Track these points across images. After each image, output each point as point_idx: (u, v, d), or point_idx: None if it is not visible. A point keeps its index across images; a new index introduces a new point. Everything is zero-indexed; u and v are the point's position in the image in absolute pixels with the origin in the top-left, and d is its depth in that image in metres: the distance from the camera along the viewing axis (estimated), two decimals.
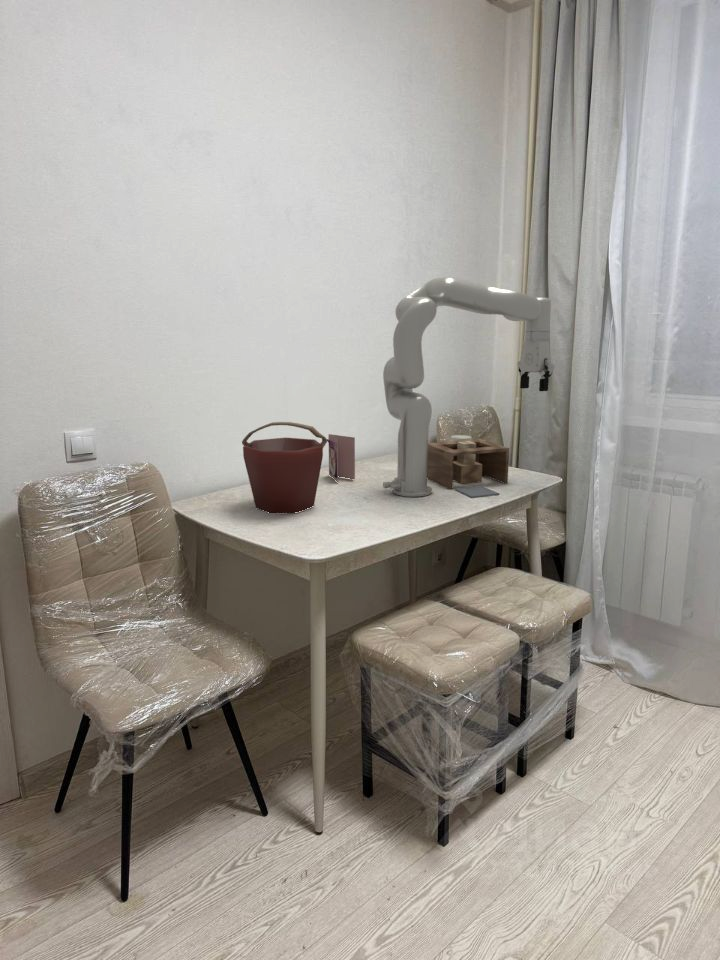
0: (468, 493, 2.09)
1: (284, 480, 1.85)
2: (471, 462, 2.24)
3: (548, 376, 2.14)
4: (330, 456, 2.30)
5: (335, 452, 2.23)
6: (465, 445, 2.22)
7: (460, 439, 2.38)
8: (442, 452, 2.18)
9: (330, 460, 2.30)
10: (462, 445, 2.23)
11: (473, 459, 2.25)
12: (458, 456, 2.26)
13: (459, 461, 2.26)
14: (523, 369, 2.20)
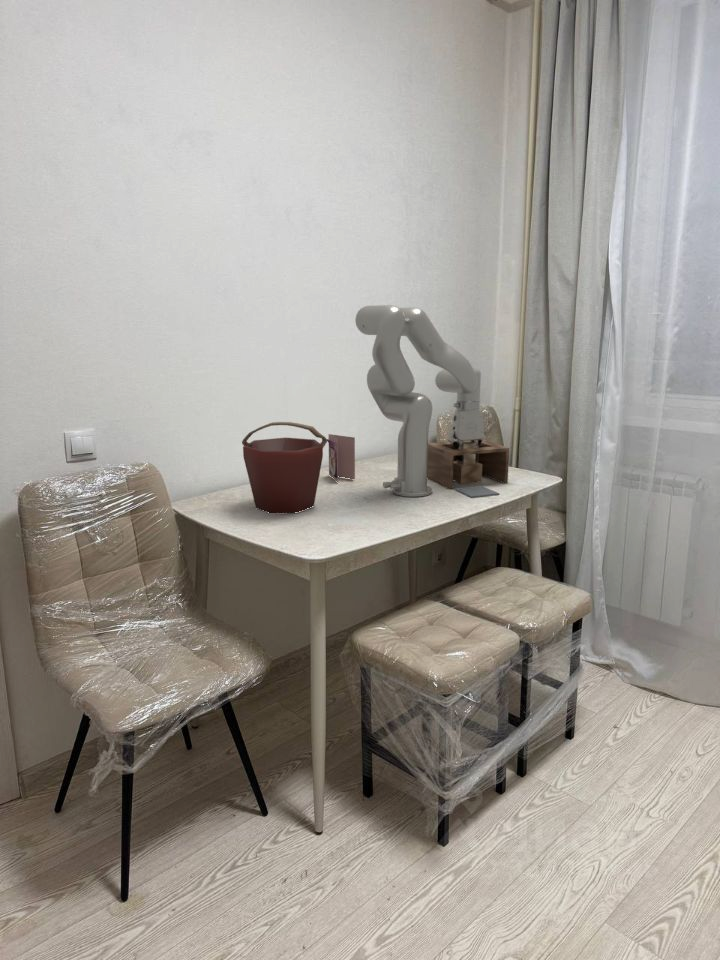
0: (468, 493, 2.09)
1: (284, 480, 1.85)
2: (471, 462, 2.24)
3: None
4: (330, 456, 2.30)
5: (335, 452, 2.23)
6: (465, 445, 2.22)
7: None
8: (442, 452, 2.18)
9: (330, 460, 2.30)
10: (462, 445, 2.23)
11: (473, 459, 2.25)
12: None
13: (459, 461, 2.26)
14: (464, 439, 2.21)
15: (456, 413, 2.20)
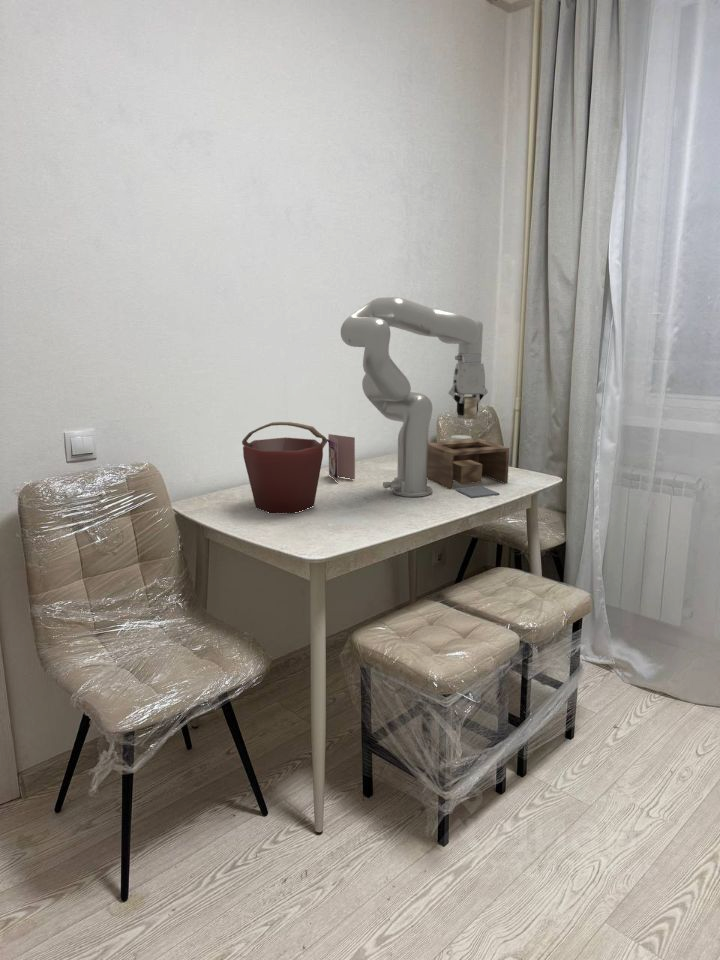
0: (468, 493, 2.09)
1: (284, 480, 1.85)
2: (472, 416, 2.21)
3: None
4: (330, 456, 2.30)
5: (335, 452, 2.23)
6: (466, 399, 2.18)
7: (460, 439, 2.38)
8: (442, 452, 2.18)
9: (330, 460, 2.30)
10: (463, 399, 2.19)
11: (474, 414, 2.21)
12: None
13: (460, 416, 2.22)
14: (466, 392, 2.17)
15: (457, 366, 2.17)
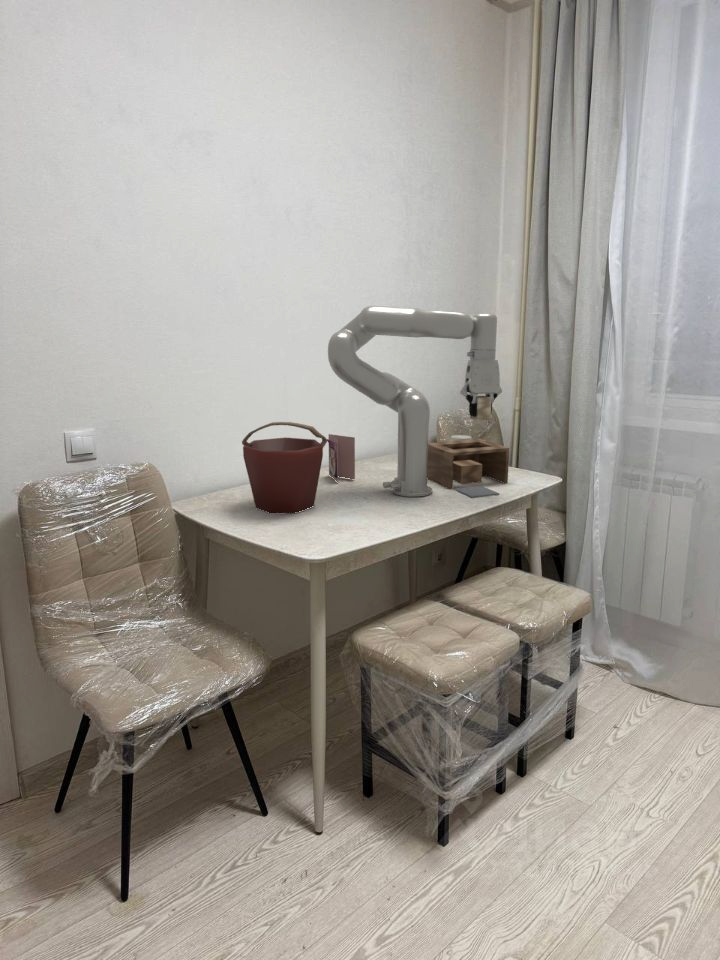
0: (468, 493, 2.09)
1: (284, 480, 1.85)
2: (486, 417, 2.04)
3: None
4: (330, 456, 2.30)
5: (335, 452, 2.23)
6: (479, 399, 2.02)
7: (460, 439, 2.38)
8: (442, 452, 2.18)
9: (330, 460, 2.30)
10: (476, 399, 2.03)
11: (488, 415, 2.04)
12: None
13: (473, 417, 2.05)
14: (479, 391, 2.01)
15: (470, 363, 2.00)
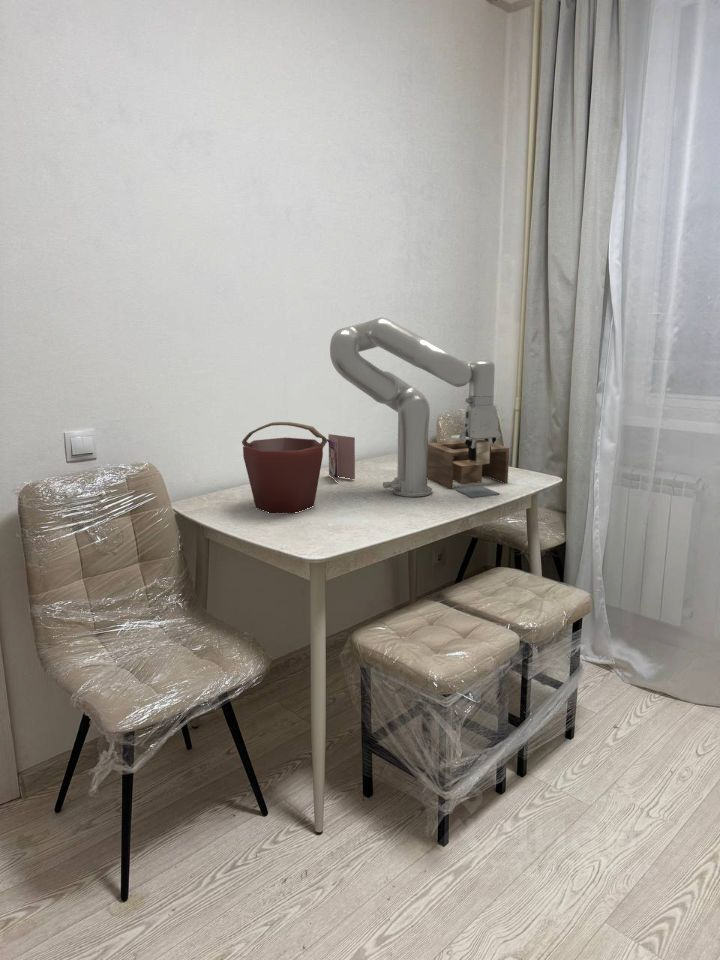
0: (468, 493, 2.09)
1: (284, 480, 1.85)
2: (485, 461, 2.07)
3: None
4: (330, 456, 2.30)
5: (335, 452, 2.23)
6: (478, 444, 2.05)
7: None
8: (442, 452, 2.18)
9: (330, 460, 2.30)
10: (475, 444, 2.06)
11: (487, 459, 2.07)
12: None
13: (472, 461, 2.09)
14: (478, 437, 2.04)
15: (468, 409, 2.03)
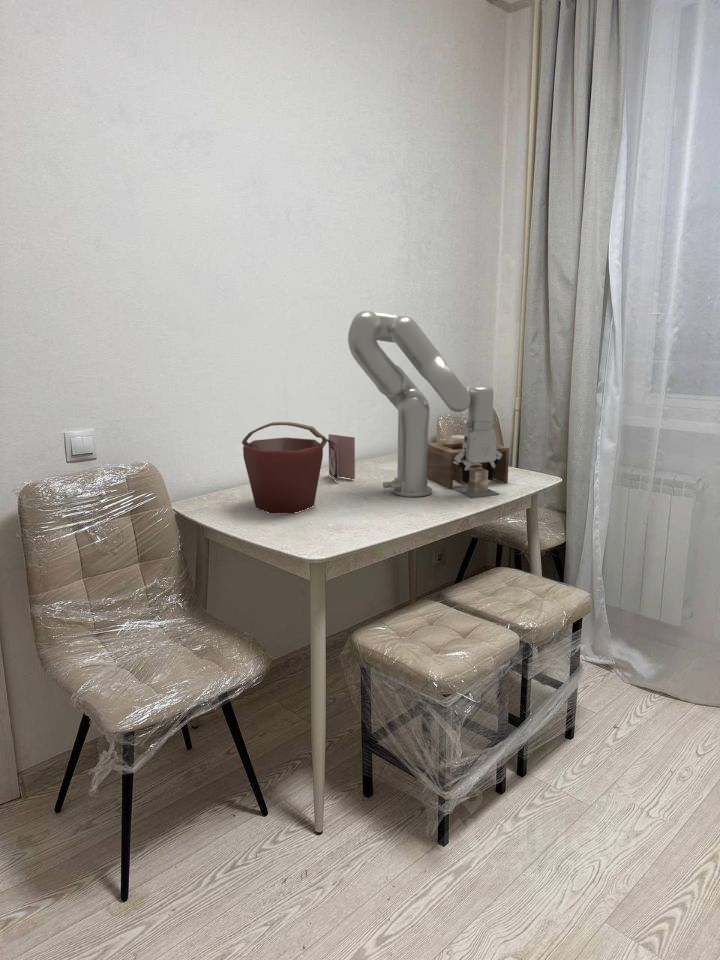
0: (468, 493, 2.09)
1: (284, 480, 1.85)
2: (483, 490, 2.10)
3: None
4: (330, 456, 2.30)
5: (335, 452, 2.23)
6: (477, 472, 2.07)
7: (460, 439, 2.38)
8: (442, 452, 2.18)
9: (330, 460, 2.30)
10: (473, 472, 2.08)
11: (485, 487, 2.10)
12: (469, 484, 2.11)
13: (470, 489, 2.11)
14: (476, 461, 2.06)
15: (467, 434, 2.05)
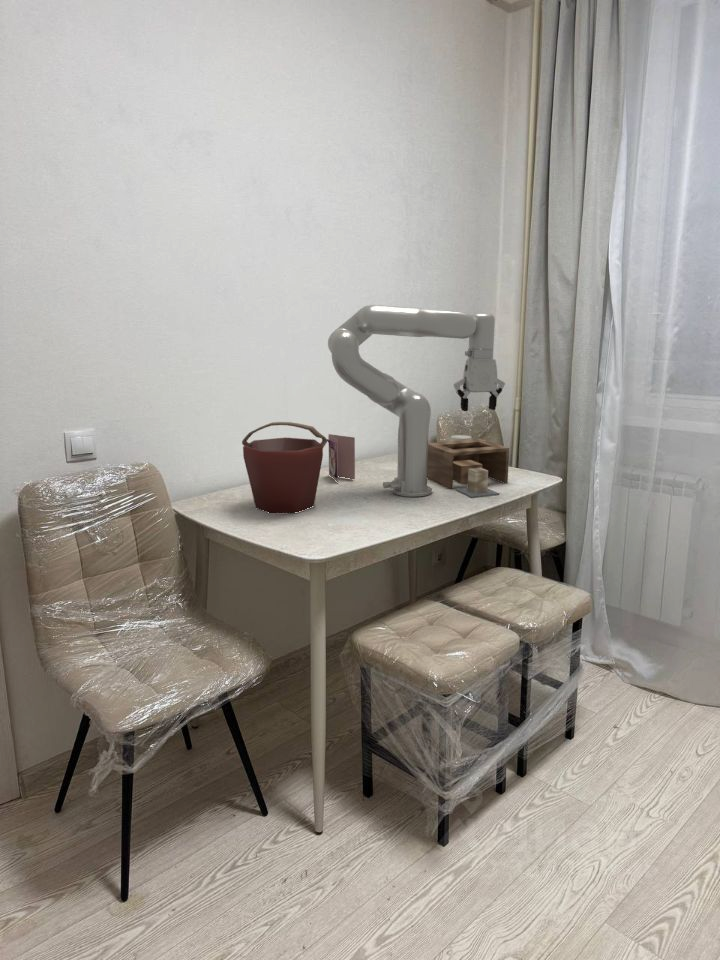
0: (468, 493, 2.09)
1: (284, 480, 1.85)
2: (483, 490, 2.10)
3: None
4: (330, 456, 2.30)
5: (335, 452, 2.23)
6: (477, 472, 2.07)
7: (460, 439, 2.38)
8: (442, 452, 2.18)
9: (330, 460, 2.30)
10: (473, 472, 2.08)
11: (485, 487, 2.10)
12: (469, 484, 2.11)
13: (470, 489, 2.11)
14: (476, 390, 2.04)
15: (467, 362, 2.04)
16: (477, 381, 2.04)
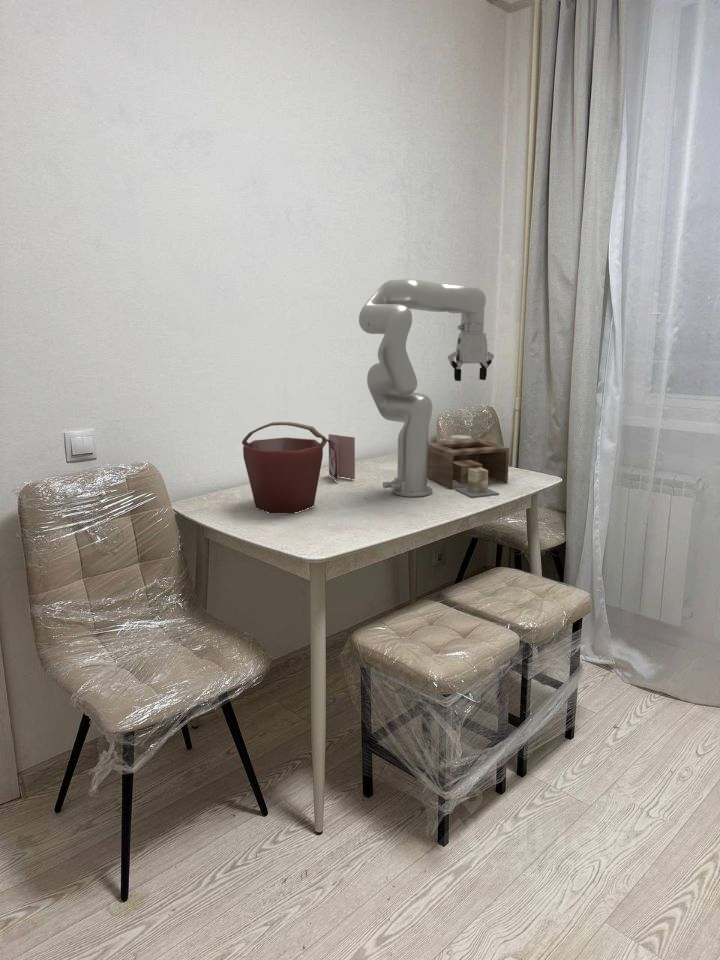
0: (468, 493, 2.09)
1: (284, 480, 1.85)
2: (483, 490, 2.10)
3: None
4: (330, 456, 2.30)
5: (335, 452, 2.23)
6: (477, 472, 2.07)
7: (460, 439, 2.38)
8: (442, 452, 2.18)
9: (330, 460, 2.30)
10: (473, 472, 2.08)
11: (485, 487, 2.10)
12: (469, 484, 2.11)
13: (470, 489, 2.11)
14: (468, 361, 2.22)
15: (460, 335, 2.21)
16: (469, 353, 2.21)
